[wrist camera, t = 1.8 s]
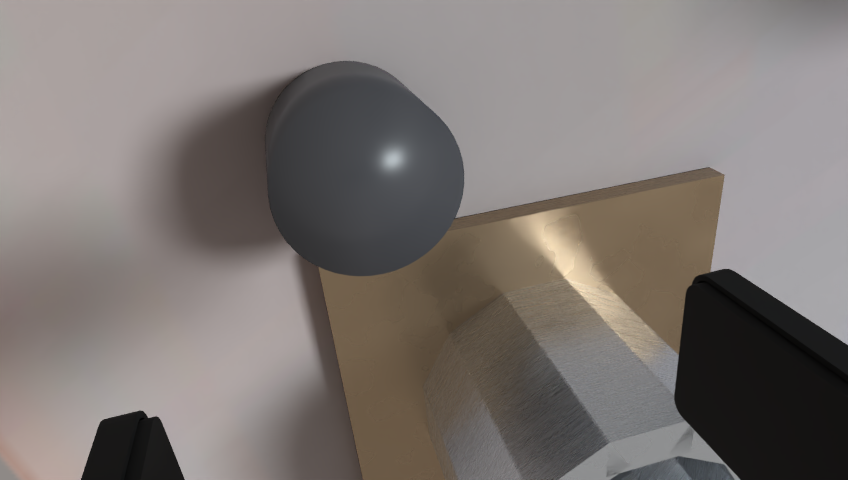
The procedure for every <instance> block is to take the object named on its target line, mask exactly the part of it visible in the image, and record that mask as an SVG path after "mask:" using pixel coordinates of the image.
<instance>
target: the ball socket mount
mask: <svg viewBox="0 0 848 480" xmlns="http://www.w3.org/2000/svg"><path fill="white" fill-rule="evenodd" d="M723 182H724V174H722V173H720V172H718V171H716V170H714V169H712V168H710V167H709V168H704V169H699V170H694V171H689V172H684V173H679V174H674V175H669V176H664V177H660V178H655V179H650V180H645V181H640V182H635V183H630V184H625V185H620V186H615V187H610V188H605V189H600V190H595V191H590V192H585V193H580V194H575V195H570V196H565V197H560V198H555V199H550V200H546V201H541V202H536V203H531V204H526V205H521V206H516V207H511V208H506V209H501V210H496V211H491V212H486V213H481V214H476V215H471V216H466V217H461V218H456V219H454V221H453V223H452V224H451V226H450V228H449V229H448V231H447V232H446V234H445V235H444V236H443V238H442V239H441V240H440V241H439V242H438V243H437V244H436V245H435V246H434V247H433V248H432V249H431V250H430V251H429V252H428V253H426V254H425V255H424V256H422V257H421V258H419V259H418V260H416V261H415V262H413V263H411V264H409V265H407V266H405V267H403V268H400V269H398V270H395V271H392V272H388V273H385V274H380V275H374V276H348V275H342V274H337V273H334V272H331V271H327V270H324V269H322V268H320V267H318V268H319V273H320V278H321V283H322V287H323V292H324V297H325V302H326V306H327V311H328V316H329V321H330V325H331V330H332V335H333V340H334V345H335V349H336V354H337V359H338V364H339V368H340V373H341V378H342V383H343V387H344V392H345V397H346V402H347V407H348V411H349V416H350V421H351V426H352V430H353V435H354V440H355V445H356V449H357V454H358V459H359V464H360V469H361V473H362V478H363V480H740V479H739V478H738V476H737V475H736V474H735V473H734V472H733V471H732V470H731V469H730V468H729V467H728V466H727V465H726V464H725V463H724V461H723V460H722V459H721V458H720V457H719V456H718V455H717V454H716V453H715V452H714V451H713V450H712V449H711V448H710V446H709V445H708V444H707V443H706V442H705V441H704V440H703V439H702V438H701V437H700V436H699V435H698V434H697V433H696V432H695V430H694V429H693V428H692V427H691V426H690V425H689V424H688V423H687V422H686V421H685V420H684V419H683V418H682V416H681V415H680V414H679V412H678V410H677V408H676V405H675V401H674V393H675V384H676V375H677V366H678V357H679V349H680V340H681V331H682V322H683V313H684V304H685V296H686V290H687V288H688V287H689V286H691V285H692V282H693V280H694V278H695V277H696V276H698V275H701V274H705V273H710V270H711V263H712V256H713V250H714V243H715V236H716V229H717V222H718V216H719V209H720V202H721V195H722V189H723Z"/></svg>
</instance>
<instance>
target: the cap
mask: <svg viewBox="0 0 848 480" xmlns="http://www.w3.org/2000/svg"><path fill="white" fill-rule="evenodd" d="M265 147H266V164H267V182H268V197H269V203H270V209H271V212H272V215H273V218H274V221H275V223H276V225H277V227H278V229H279V231H280V233H281V234H282V236H283V237H284V239H285V240H286V242H287V243H288V244H289V245H290V246H291V247H292V248H293V249H294V250H295V251H296V252H297V253H298V254H299V255H301V256H302V257H303V258H304V259H306V260H307V261H309V262H311V263H312V264H314V265H316V266H318V267H320V268H322V269H324V270H327V271H331V272H334V273H337V274H342V275H348V276H374V275H380V274H385V273H388V272H392V271H395V270H398V269H400V268H403V267H405V266H407V265H409V264H411V263H413V262H415V261H416V260H418V259H419V258H421V257H422V256H424V255H425V254H426V253H428V252H429V251H430V250H431V249H432V248H433V247H434V246H435V245H436V244H437V243H438V242H439V241H440V240H441V239H442V238H443V236H444V235H445V234H446V232H447V231H448V229H449V228H450V226H451V224H452V223H453V221H454V219H455V217H456V214H457V212H458V209H459V207H460V203H461V199H462V195H463V188H464V168H463V161H462V157H461V153H460V150H459V147H458V145H457V143H456V140H455V138H454V136H453V135H452V133H451V132H450V130H449V128H448V127H447V126H446V124H445V123H444V122H443V121H442V120H441V119H440V117H439V116H437V115H436V114H435V113H434V112H433V111H432V110H431V109H430V108H429V107H427V106H426V105H425V104H424V103H423V102H422V101H421V100H420V99H419V98H418V97H416V96H415V95H414V94H413V93H412V92H411V91H410V90H409V89H408V88H406V87H405V86H404V85H403V84H402V83H401V82H400V81H399V80H398V79H396V78H395V77H394V76H392V75H391V74H389V73H388V72H386V71H384V70H382V69H380V68H378V67H376V66H372V65H369V64H366V63H361V62H355V61H339V62H331V63H327V64H323V65H320V66H317V67H315V68H312V69H310V70H308V71H306V72H305V73H303V74H301V75H300V76H299V77H297V78H296V79H294V80H293V81H292V82H291V83H290V84H289V85H288V86H287V87H286V88H285V89H284V90H283V92H282V93H281V94H280V95H279V97H278V99H277V100H276V102H275V104H274V105H273V108H272V110H271V112H270V115H269V118H268V122H267V126H266V134H265Z"/></svg>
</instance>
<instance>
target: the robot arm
mask: <svg viewBox="0 0 848 480" xmlns="http://www.w3.org/2000/svg"><path fill="white" fill-rule="evenodd" d="M674 401H675V405H676V408H677V410H678V412H679V414H680V415H681V416H682V418H683V419H684V420H685V421H686V422H687V423H688V424H689V425H690V426H691V427H692V428H693V429H694V430H695V432H696V433H697V434H698V435H699V436H700V437H701V438H702V439H703V440H704V441H705V442H706V443H707V444H708V445H709V446H710V448H711V449H712V450H713V451H714V452H715V453H716V454H717V455H718V456H719V457H720V458H721V459H722V460H723V461H724V463H725V464H726V465H727V466H728V467H729V468H730V469H731V470H732V471H733V472H734V473H735V474H736V475H737V476H738V478H739V479H740V480H848V345H847V344H845V343H843V342H842V341H840V340H839V339H837V338H836V337H834V336H833V335H831V334H830V333H828V332H827V331H825V330H823V329H822V328H820V327H819V326H817V325H816V324H814V323H813V322H811V321H810V320H808V319H807V318H805V317H804V316H802V315H800V314H799V313H797V312H796V311H794V310H793V309H791V308H790V307H788V306H787V305H785V304H784V303H782V302H781V301H779V300H777V299H776V298H774V297H773V296H771V295H770V294H768V293H767V292H765V291H764V290H762V289H761V288H759V287H758V286H756V285H754V284H753V283H751V282H750V281H748V280H747V279H745V278H744V277H742V276H741V275H739V274H738V273H736V272H734V271H732V270H730V269H722V270H718V271H714V272H710V273H705V274H701V275H698V276H696V277H695V278H694V280H693V282H692V285H691V286H689V287H688V288H687V290H686V296H685V304H684V313H683V322H682V331H681V340H680V349H679V357H678V366H677V375H676V384H675V393H674ZM81 480H185V479H184V477H183V474H182V472H181V469H180V467H179V464H178V462H177V459H176V457H175V454H174V452H173V449H172V447H171V444H170V442H169V439H168V437H167V434H166V432H165V429H164V427H163V424H162V422H161V420H160V419H159V417H152V418H148V417H147V415H146V414H145V413H144V412H143V411H137V412H132V413H128V414H124V415H120V416H116V417H112V418H108V419H104V420H102V421H101V422H100V424H99V427H98V429H97V433H96V436H95V439H94V442H93V445H92V448H91V451H90V454H89V457H88V460H87V463H86V466H85V469H84V472H83V475H82V478H81Z"/></svg>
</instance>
